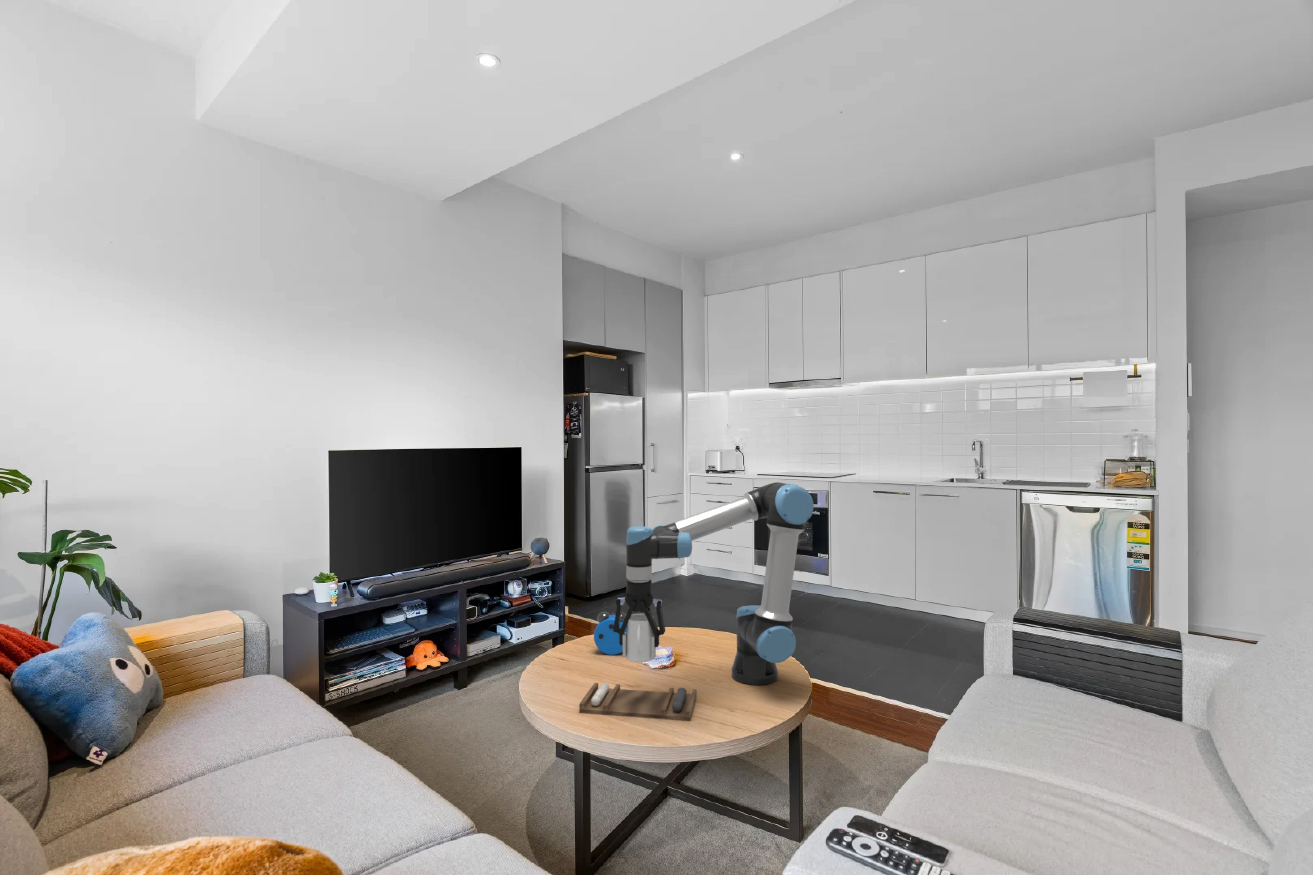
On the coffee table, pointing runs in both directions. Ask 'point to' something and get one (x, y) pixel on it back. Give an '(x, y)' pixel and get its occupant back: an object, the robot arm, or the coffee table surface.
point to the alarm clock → (608, 634)
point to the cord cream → (600, 694)
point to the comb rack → (639, 703)
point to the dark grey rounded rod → (679, 699)
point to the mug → (639, 639)
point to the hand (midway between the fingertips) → (639, 656)
